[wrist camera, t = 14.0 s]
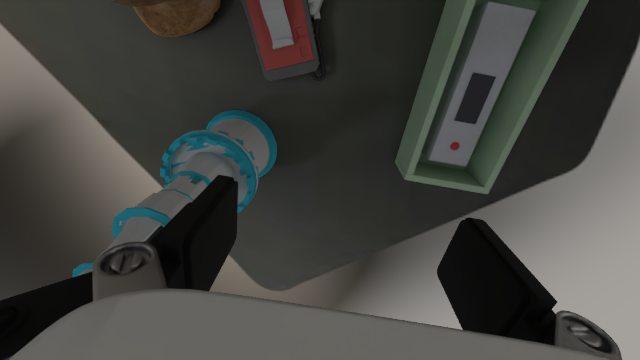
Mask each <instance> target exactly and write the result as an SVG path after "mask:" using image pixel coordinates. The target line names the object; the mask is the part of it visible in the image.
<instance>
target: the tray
mask: <svg viewBox="0 0 640 360" xmlns="http://www.w3.org/2000/svg"><path fill="white" fill-rule="evenodd" d="M588 1H589V0H446V3H445V6H444V9H443V12H442V15H441V18H440V22H439V25H438V28H437V31H436V34H435V37H434V40H433V44H432V47H431V50H430V53H429V56H428V59H427V62H426V66H425V69H424V72H423V75H422V78H421V81H420V84H419V87H418V91H417V94H416V97H415V100H414V103H413V106H412V109H411V113H410V116H409V119H408V122H407V125H406V128H405V131H404V134H403V138H402V141H401V144H400V147H399V150H398V153H397V156H396V160H395V164H396V165H397V167H398V169H399V171H400V172H401V174H402V176H403V178H404V180H409V181H415V182H421V183H426V184H432V185H438V186H443V187H449V188H455V189H461V190H466V191H472V192H478V193H483V194H488V193H489V191H490V188H491V187H492V185H493V183H494V181H495V179H496V178H497V176H498V174H499V172H500V170H501V168H502V166H503V164H504V162H505V160H506V158H507V156H508V155H509V153H510V151H511V149H512V147H513V145H514V143H515V141H516V139H517V137H518V135H519V133H520V131H521V130H522V128H523V126H524V124H525V122H526V120H527V118H528V116H529V114H530V112H531V110H532V108H533V107H534V105H535V103H536V101H537V99H538V97H539V95H540V93H541V91H542V89H543V87H544V85H545V84H546V82H547V80H548V78H549V76H550V74H551V72H552V70H553V68H554V66H555V64H556V62H557V60H558V59H559V57H560V55H561V53H562V51H563V49H564V47H565V45H566V43H567V41H568V39H569V37H570V36H571V34H572V32H573V30H574V28H575V26H576V24H577V22H578V20H579V18H580V16H581V14H582V12H583V11H584V9H585V7H586V5H587V3H588ZM486 2H494V3H500V4H505V5H510V6H515V7H520V8H525V9H531V10H536V12H535V15H534V17H533V19H532V21H531V23H530V26H529V28H528V30H527V32H526V35H525V37H524V39H523V41H522V43H521V46H520V48H519V50H518V52H517V54H516V57H515V59H514V61H513V63H512V66H511V68H510V70H509V72H508V74H507V77H506V79H505V81H504V83H503V86H502V88H501V90H500V92H499V94H498V97H497V99H496V101H495V103H494V106H493V108H492V110H491V112H490V114H489V117H488V119H487V121H486V123H485V125H484V128H483V130H482V132H481V134H480V137H479V139H478V141H477V143H476V145H475V148H474V150H473V152H472V154H471V157H470V159H469V161H468V163H467V165H466V166H461V165H455V164H449V163H444V162H438V161H432V160H429V159H428V158H427V157H426V156H425V155H424V154H423V153H422V152H421V151H422V148H423V146H424V143H425V140H426V137H427V135H428V132H429V129H430V126H431V124H432V121H433V118H434V115H435V112H436V110H437V107H438V104H439V101H440V99H441V96H442V93H443V90H444V88H445V85H446V82H447V79H448V76H449V74H450V71H451V68H452V65H453V63H454V60H455V57H456V54H457V52H458V49H459V46H460V43H461V40H462V38H463V35H464V32H465V29H466V27H467V24H468V21H469V18H470V16H471V13H472V10H473V7H474V6H477V5H480V4H483V3H486Z"/></svg>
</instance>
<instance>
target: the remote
mask: <svg viewBox="0 0 640 360" xmlns="http://www.w3.org/2000/svg"><path fill="white" fill-rule="evenodd" d="M535 12H536V10H531V9H525V8H520V7H515V6H510V5H505V4H500V3H494V2H486V3H483V4H480V5H477V6H474V7H473V10H472V13H471V16H470V18H469V21H468V24H467V27H466V29H465V32H464V35H463V38H462V40H461V43H460V46H459V49H458V52H457V54H456V57H455V60H454V63H453V65H452V68H451V71H450V74H449V76H448V79H447V82H446V85H445V88H444V90H443V93H442V96H441V99H440V101H439V104H438V107H437V110H436V112H435V115H434V118H433V121H432V124H431V126H430V129H429V132H428V135H427V137H426V140H425V143H424V146H423V148H422V151H421V152H422V153H423V154H424V155H425V156H426V157H427V158H428V159H429V160H432V161H438V162H444V163H449V164H455V165H461V166H466V165H467V163H468V161H469V159H470V157H471V154H472V152H473V150H474V148H475V145H476V143H477V141H478V139H479V137H480V134H481V132H482V130H483V128H484V125H485V123H486V121H487V119H488V117H489V114H490V112H491V110H492V108H493V106H494V103H495V101H496V99H497V97H498V94H499V92H500V90H501V88H502V86H503V83H504V81H505V79H506V77H507V74H508V72H509V70H510V68H511V66H512V63H513V61H514V59H515V57H516V54H517V52H518V50H519V48H520V46H521V43H522V41H523V39H524V37H525V35H526V32H527V30H528V28H529V26H530V23H531V21H532V19H533V17H534V15H535Z"/></svg>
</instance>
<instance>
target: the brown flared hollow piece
mask: <svg viewBox="0 0 640 360" xmlns="http://www.w3.org/2000/svg"><path fill="white" fill-rule="evenodd" d="M110 1H113V2H116V3H119V4H123V5H128V6H132V7H133V8H134V9H135V11H136V13H137V14H138V16H139V17H140V18H141V19H142V21H143V22H144V23H145V24H146V26H147V27H148V28H149V29H150V30H151V31H152V32H154V33H155V34H157V35H159V36H165V37H178V36H183V35H188V34H191V33H193V32H195V31H197V30H199V29H201V28H202V27H204V26H205V25H207V24H208V23H209V22H210V21H211V20H212V18H213V15H214V12H216V11H217V10H218V9H219V7H220V0H110Z"/></svg>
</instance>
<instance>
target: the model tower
mask: <svg viewBox="0 0 640 360" xmlns="http://www.w3.org/2000/svg"><path fill="white" fill-rule="evenodd" d="M276 157H277V143H276V140H275V137H274V135H273V133H272V131H271V129H270V128H269V127H268V126H267V124H266V123H265V122H264V121H263V120H261V119H260V118H259V117H257V116H255V115H254V114H252V113H249V112H246V111H242V110H228V111H225V112H222V113H220V114H218V115H216V116H215V117H214V118H213V119H212V120H211V121H210V122H209V124H208V126H207V127H206V130H197V131H192V132H189V133H186V134H184V135H182V136H181V137H179V138H178V139H176V140H175V141H174V142H173V143H172V145H171V146H170V147H169V149H168V151H166V152H165V153H164V155H163V158H162V160H163V161H164V164H163V166H162V167H161V168H160V175H161V177H165V181H166V183H165V184H164V185H163V186H164V189H163V190H161V191H160V192H158V193H153V194H152V195H150V196H149V197H147V198H146V199H145V200H143V201H142V202H141V203H139V204H138V205H137V206H135V207H134V208H127V209H125V210H124V211H122V212H121V213H119V214H118V215H117V216H115V217H114V220H113V226H112V233H113V235H114V237H115V240H114V242H113V243H112V244H111V245H110V246H109V247H108V248H107V249H106V250H108V249H110V248H112V247H114V246H117V245H120V244H123V243H129V242H145V243H149V242H150V241H151V240H152V239H153V238H154V237H155V236H156V235H157V234H158V233H159V232H160V231H161V230H162V229H163V228H164V227H165V226H166V224H167V223H168V222H169V221H170V220H171V219H172V218H173V217H174V216H175V215H176V214H177V213H178V212H179V211H180V210H181V209H182V208H183V207H184V206H185V205H186V204H188V203H189V202H193V201H194V199H195V198H196V197H197V196H198V195H199V194H200V193H201V192H202V191H203V190H204V189H205V188H206V187H207V186H208V185H209V184H210V183H211V182H212V181H213V180H214V179H215V178H216V177H217V176H218V175H224V176H230V177H233V178H234V181H237V182H238V208H237V213H239V212H240V211H241V210H242V209H243V208H245V207H246V206H247V205H248V204H249V203H250V201H251V200H252V199H253V197H254V195H255V193H256V190H257V186H258V178H260V177H262V176H263V175H265V174H266V173H267V172H269V171H270V169H271V168H272V167H273V165H274V163H275V160H276ZM106 250H105V251H106ZM105 251H104V252H105ZM100 255H101V254H100ZM100 255H99V256H100ZM93 264H94V263H93ZM93 264H81V265H80V266H78V267H77V268H75V269H74V270H73V277H76V276H79V275H82V274H85V273H88V272H91V271H92V268H93Z"/></svg>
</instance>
